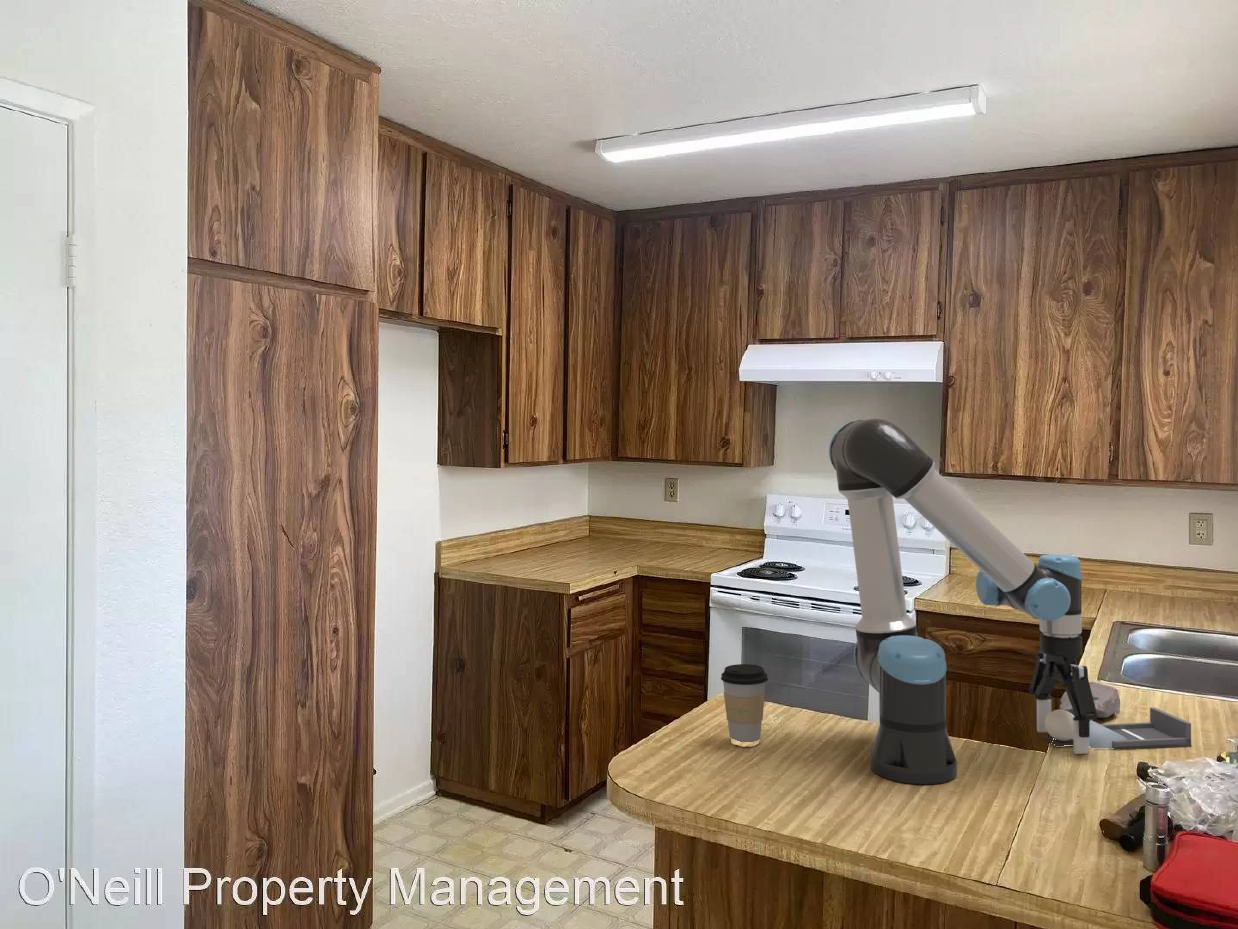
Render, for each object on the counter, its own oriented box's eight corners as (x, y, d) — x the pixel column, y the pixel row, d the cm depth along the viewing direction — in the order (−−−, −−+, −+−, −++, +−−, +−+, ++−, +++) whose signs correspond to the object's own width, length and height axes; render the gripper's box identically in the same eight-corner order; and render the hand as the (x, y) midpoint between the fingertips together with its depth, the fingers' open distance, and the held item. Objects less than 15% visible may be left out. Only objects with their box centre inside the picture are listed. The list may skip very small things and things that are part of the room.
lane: (1114, 750, 175) (1114, 726, 175) (1082, 732, 185) (1082, 710, 185) (1191, 746, 176) (1191, 723, 176) (1154, 729, 186) (1154, 707, 186)
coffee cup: (719, 749, 180) (717, 673, 179) (725, 734, 189) (723, 662, 189) (767, 752, 177) (766, 675, 177) (770, 736, 187) (769, 664, 186)
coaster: (1056, 747, 177) (1056, 745, 177) (1042, 739, 182) (1042, 736, 182) (1081, 746, 177) (1081, 743, 177) (1066, 738, 182) (1066, 735, 182)
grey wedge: (1132, 773, 176) (1131, 732, 176) (1092, 775, 175) (1092, 734, 175) (1103, 757, 185) (1103, 718, 185) (1066, 759, 184) (1065, 720, 184)
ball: (1055, 746, 176) (1055, 715, 176) (1039, 736, 182) (1038, 706, 182) (1085, 744, 177) (1084, 714, 176) (1067, 734, 183) (1067, 705, 182)
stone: (1100, 726, 190) (1101, 698, 189) (1056, 716, 197) (1056, 688, 197) (1129, 715, 198) (1130, 688, 198) (1085, 705, 205) (1085, 679, 205)
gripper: (1117, 646, 167) (1119, 762, 167) (1045, 621, 191) (1046, 722, 192) (1078, 648, 166) (1080, 764, 167) (1010, 622, 191) (1012, 723, 191)
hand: (1062, 742), depth 179 cm, fingers open, 12 cm apart
